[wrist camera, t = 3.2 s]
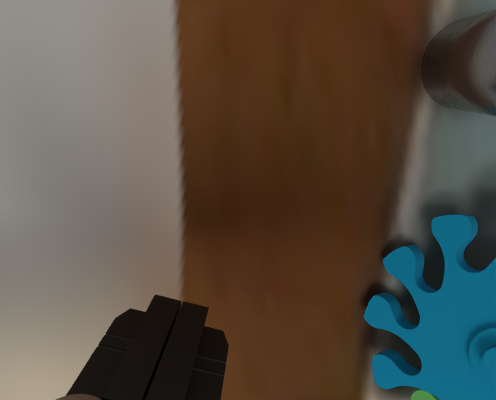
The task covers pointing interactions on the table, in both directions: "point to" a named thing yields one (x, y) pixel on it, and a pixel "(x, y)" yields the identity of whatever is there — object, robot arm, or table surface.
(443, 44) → the spacers
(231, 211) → the table surface
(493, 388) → the gear
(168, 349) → the robot arm
